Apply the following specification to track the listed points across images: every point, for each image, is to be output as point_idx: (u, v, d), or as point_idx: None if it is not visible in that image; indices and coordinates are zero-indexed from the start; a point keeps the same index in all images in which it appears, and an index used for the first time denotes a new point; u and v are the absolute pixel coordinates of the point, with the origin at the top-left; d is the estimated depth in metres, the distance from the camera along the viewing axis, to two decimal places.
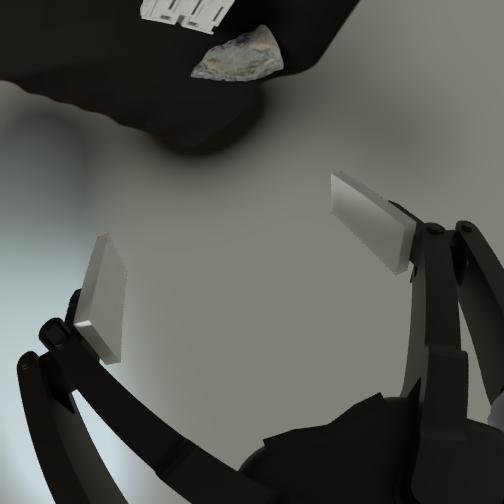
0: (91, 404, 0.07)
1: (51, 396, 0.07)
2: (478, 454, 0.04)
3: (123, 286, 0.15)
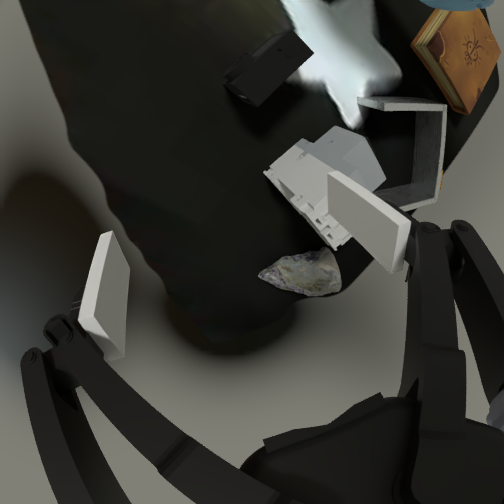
0: (94, 400, 0.07)
1: (55, 393, 0.07)
2: (478, 454, 0.04)
3: (126, 283, 0.15)
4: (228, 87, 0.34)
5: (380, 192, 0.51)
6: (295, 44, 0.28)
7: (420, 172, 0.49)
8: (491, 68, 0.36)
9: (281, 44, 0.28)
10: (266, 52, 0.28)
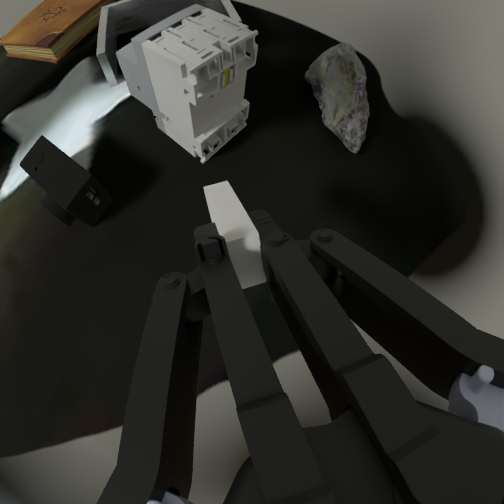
0: (215, 323, 0.09)
1: (182, 326, 0.09)
2: (478, 454, 0.04)
3: None
4: (92, 219, 0.29)
5: None
6: (31, 155, 0.24)
7: None
8: None
9: (31, 169, 0.24)
10: (37, 181, 0.23)
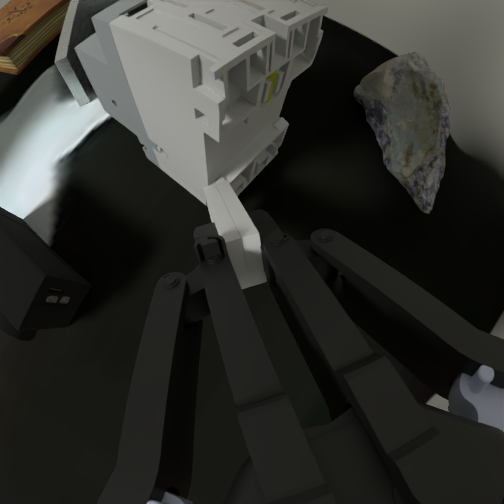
0: (214, 323, 0.09)
1: (182, 326, 0.09)
2: (478, 454, 0.04)
3: None
4: (64, 320, 0.18)
5: None
6: None
7: None
8: None
9: None
10: None
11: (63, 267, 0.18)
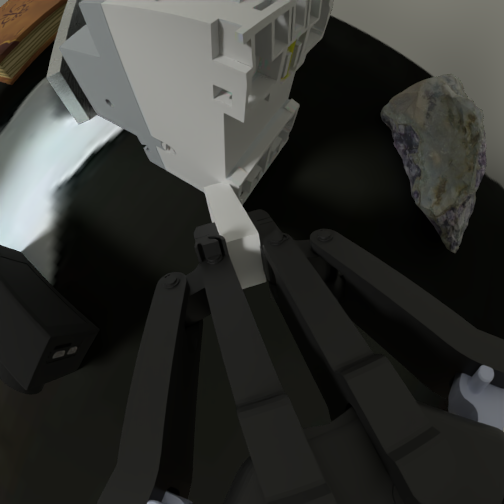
0: (215, 323, 0.09)
1: (182, 326, 0.09)
2: (478, 454, 0.04)
3: None
4: (73, 367, 0.17)
5: None
6: None
7: None
8: None
9: None
10: None
11: (68, 313, 0.17)
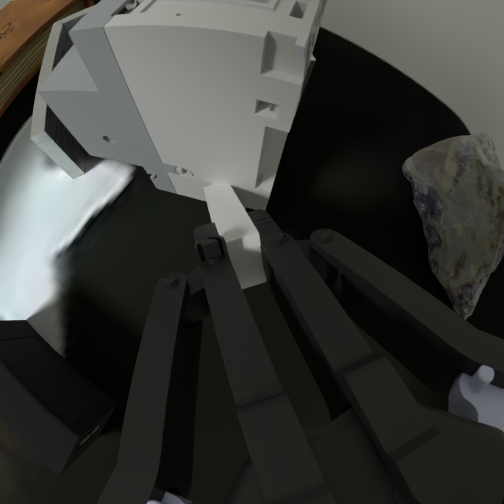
0: (215, 323, 0.09)
1: (182, 326, 0.09)
2: (478, 454, 0.04)
3: None
4: (95, 437, 0.16)
5: None
6: None
7: None
8: (26, 0, 0.19)
9: None
10: None
11: (85, 393, 0.16)
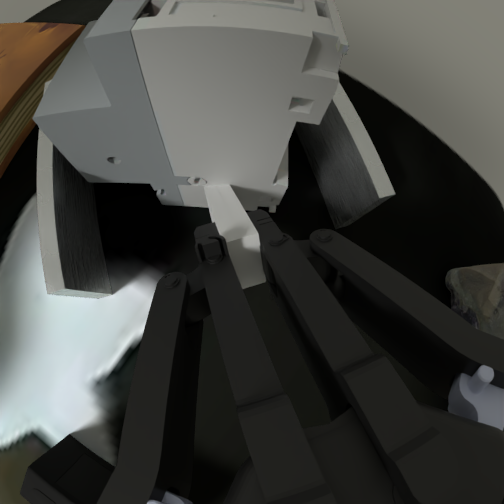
0: (215, 323, 0.09)
1: (182, 326, 0.09)
2: (478, 454, 0.04)
3: None
4: None
5: (316, 168, 0.22)
6: (34, 495, 0.09)
7: None
8: (15, 25, 0.18)
9: None
10: None
11: None
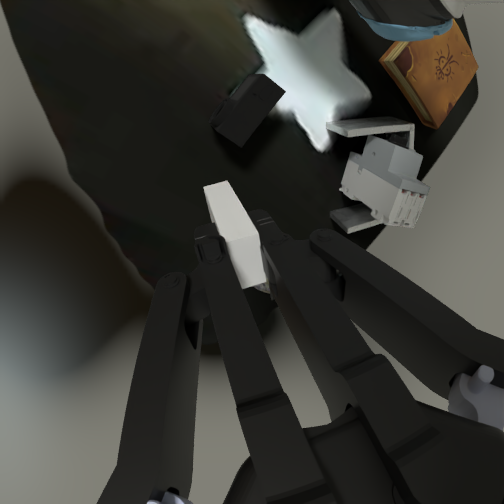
0: (215, 323, 0.09)
1: (182, 326, 0.09)
2: (478, 454, 0.04)
3: None
4: None
5: (351, 207, 0.57)
6: (267, 86, 0.35)
7: None
8: (466, 83, 0.42)
9: (255, 89, 0.35)
10: (242, 98, 0.35)
11: None
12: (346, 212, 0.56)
